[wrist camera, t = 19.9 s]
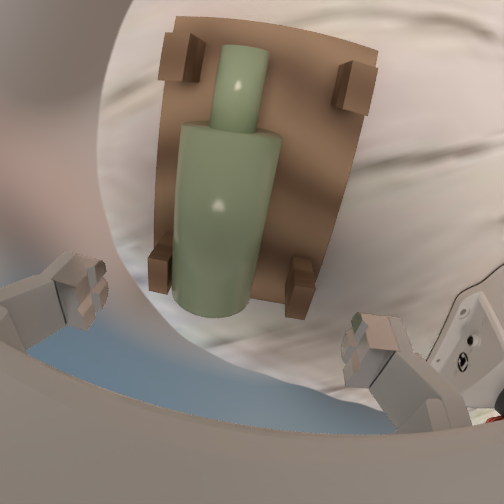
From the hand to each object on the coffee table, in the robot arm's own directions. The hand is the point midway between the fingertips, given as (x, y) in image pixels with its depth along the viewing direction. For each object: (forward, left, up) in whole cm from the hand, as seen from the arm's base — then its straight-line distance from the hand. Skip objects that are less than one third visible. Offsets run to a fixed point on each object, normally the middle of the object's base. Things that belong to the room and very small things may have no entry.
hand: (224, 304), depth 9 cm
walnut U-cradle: (0, 0, -15) cm, 15 cm away
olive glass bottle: (-8, +2, -11) cm, 14 cm away
